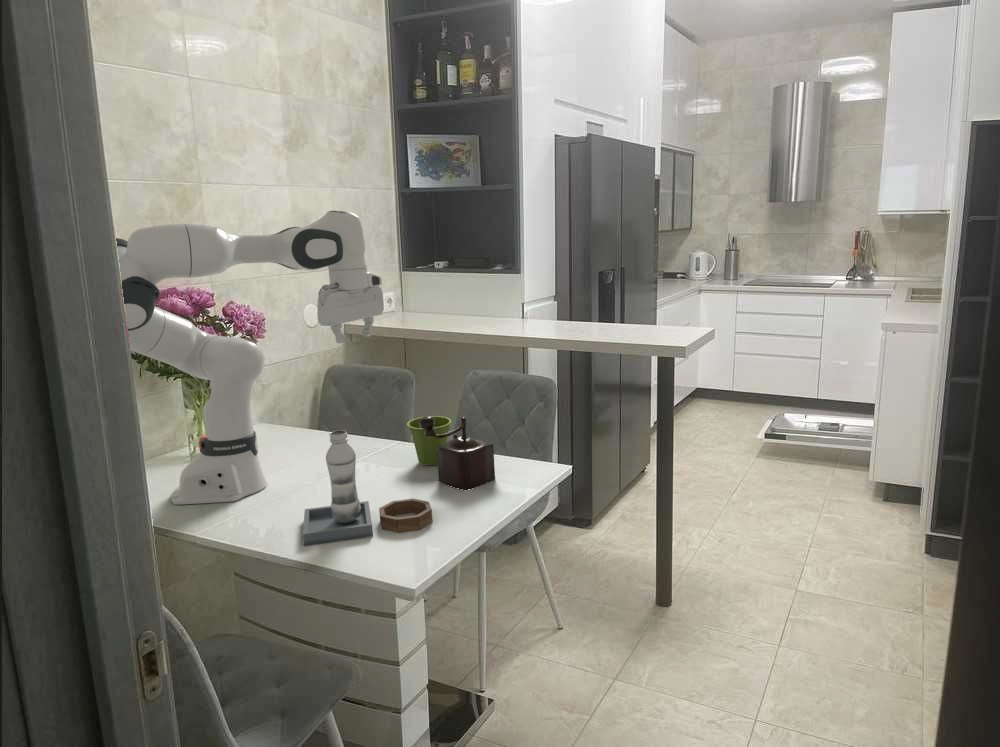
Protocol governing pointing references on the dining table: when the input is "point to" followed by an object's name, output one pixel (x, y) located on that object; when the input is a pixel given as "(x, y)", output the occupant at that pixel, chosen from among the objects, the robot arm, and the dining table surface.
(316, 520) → the charcoal tray
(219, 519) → the dining table surface
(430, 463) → the plant pot
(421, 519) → the walnut collar
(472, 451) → the manual coffee grinder
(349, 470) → the plastic bottle
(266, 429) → the dining table surface
